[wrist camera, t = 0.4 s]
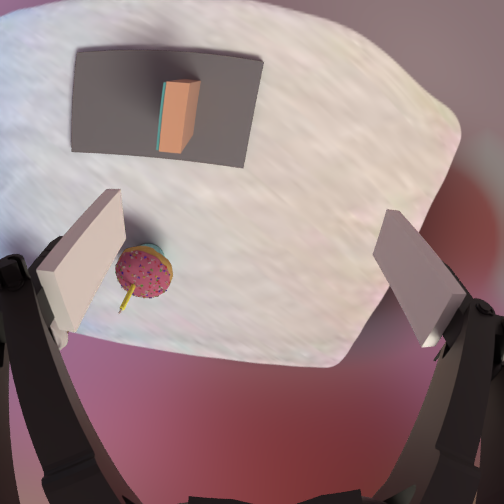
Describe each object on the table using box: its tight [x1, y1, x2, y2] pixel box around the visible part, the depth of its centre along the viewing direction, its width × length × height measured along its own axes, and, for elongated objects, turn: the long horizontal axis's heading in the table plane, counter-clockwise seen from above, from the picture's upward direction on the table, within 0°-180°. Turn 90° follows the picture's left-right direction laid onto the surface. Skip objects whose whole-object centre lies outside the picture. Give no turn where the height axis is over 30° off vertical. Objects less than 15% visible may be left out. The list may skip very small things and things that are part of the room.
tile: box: [156, 79, 201, 154], centre depth 30 cm, size 2×7×9 cm, turn 170°
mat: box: [71, 50, 264, 168], centre depth 34 cm, size 24×14×1 cm, turn 80°
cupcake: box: [115, 244, 173, 314], centre depth 42 cm, size 9×8×12 cm
